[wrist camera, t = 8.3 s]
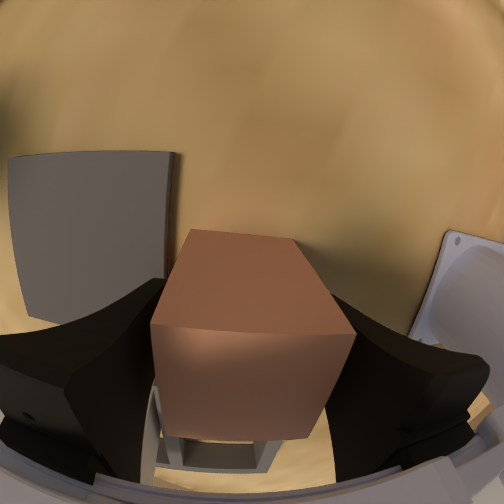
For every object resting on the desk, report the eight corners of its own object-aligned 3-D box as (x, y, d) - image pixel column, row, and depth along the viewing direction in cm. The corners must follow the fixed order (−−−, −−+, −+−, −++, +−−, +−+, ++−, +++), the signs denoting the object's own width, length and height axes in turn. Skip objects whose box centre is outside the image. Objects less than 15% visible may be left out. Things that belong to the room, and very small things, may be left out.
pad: (173, 152, 10) (169, 152, 10) (168, 334, 13) (166, 343, 13) (17, 157, 9) (8, 158, 9) (34, 309, 12) (28, 315, 12)
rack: (293, 361, 15) (302, 393, 12) (263, 449, 19) (267, 472, 16) (63, 335, 13) (46, 360, 11) (101, 430, 17) (95, 452, 14)
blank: (292, 239, 12) (356, 334, 6) (276, 322, 14) (307, 438, 7) (190, 228, 12) (149, 323, 5) (187, 316, 13) (166, 435, 7)
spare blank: (156, 378, 15) (135, 476, 8) (162, 417, 16) (151, 500, 10) (91, 365, 14) (53, 451, 8) (105, 406, 16) (82, 482, 9)
